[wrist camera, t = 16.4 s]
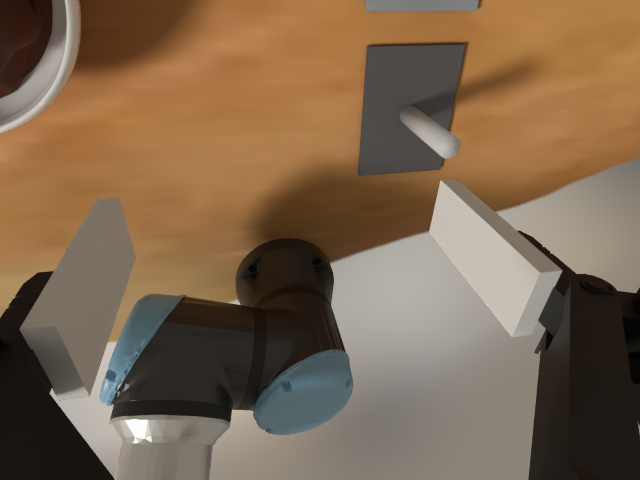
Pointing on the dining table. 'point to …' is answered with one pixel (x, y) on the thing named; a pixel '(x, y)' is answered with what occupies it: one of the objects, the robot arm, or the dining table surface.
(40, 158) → the dining table surface
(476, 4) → the slate mat
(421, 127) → the post stand
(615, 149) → the dining table surface
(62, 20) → the white ceramic bowl
